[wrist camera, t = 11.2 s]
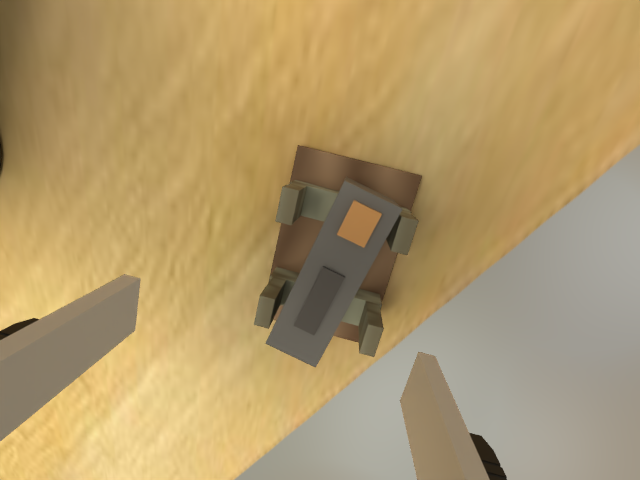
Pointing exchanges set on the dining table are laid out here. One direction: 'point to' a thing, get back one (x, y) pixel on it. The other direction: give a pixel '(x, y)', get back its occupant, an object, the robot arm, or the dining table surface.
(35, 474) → the dining table surface
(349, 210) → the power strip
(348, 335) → the rack
